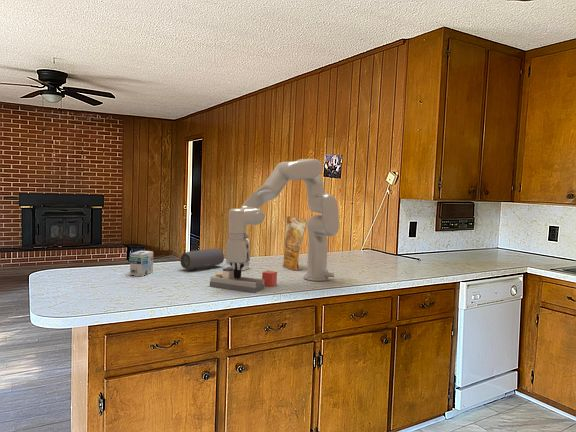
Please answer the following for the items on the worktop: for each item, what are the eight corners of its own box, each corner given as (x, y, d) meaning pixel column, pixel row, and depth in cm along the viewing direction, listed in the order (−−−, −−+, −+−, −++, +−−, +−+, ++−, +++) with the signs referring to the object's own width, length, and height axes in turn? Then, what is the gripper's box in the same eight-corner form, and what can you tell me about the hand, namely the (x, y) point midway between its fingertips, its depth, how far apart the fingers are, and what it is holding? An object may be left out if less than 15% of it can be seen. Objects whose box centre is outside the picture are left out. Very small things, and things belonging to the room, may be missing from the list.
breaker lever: (234, 280, 205) (235, 267, 204) (228, 282, 199) (228, 269, 199) (228, 279, 206) (229, 266, 205) (222, 281, 201) (222, 268, 200)
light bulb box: (142, 276, 214) (142, 254, 214) (129, 275, 216) (129, 253, 215) (153, 272, 225) (153, 251, 224) (140, 271, 226) (141, 250, 225)
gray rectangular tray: (264, 288, 201) (264, 276, 201) (254, 292, 192) (254, 280, 192) (221, 282, 210) (221, 270, 210) (209, 286, 201) (209, 274, 200)
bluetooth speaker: (212, 264, 252) (213, 246, 251) (224, 267, 246) (225, 248, 245) (179, 269, 234) (179, 250, 233) (190, 272, 228) (191, 252, 227)
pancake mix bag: (289, 264, 261) (291, 215, 259) (305, 271, 244) (307, 218, 242) (279, 265, 258) (281, 215, 256) (294, 271, 241) (296, 218, 239)
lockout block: (276, 284, 210) (277, 271, 209) (271, 286, 205) (272, 273, 205) (266, 283, 211) (267, 270, 211) (261, 285, 207) (262, 272, 206)
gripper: (256, 236, 200) (256, 277, 202) (226, 234, 206) (226, 274, 207) (248, 239, 193) (248, 281, 195) (218, 236, 199) (218, 278, 200)
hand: (237, 277), depth 201 cm, fingers closed
